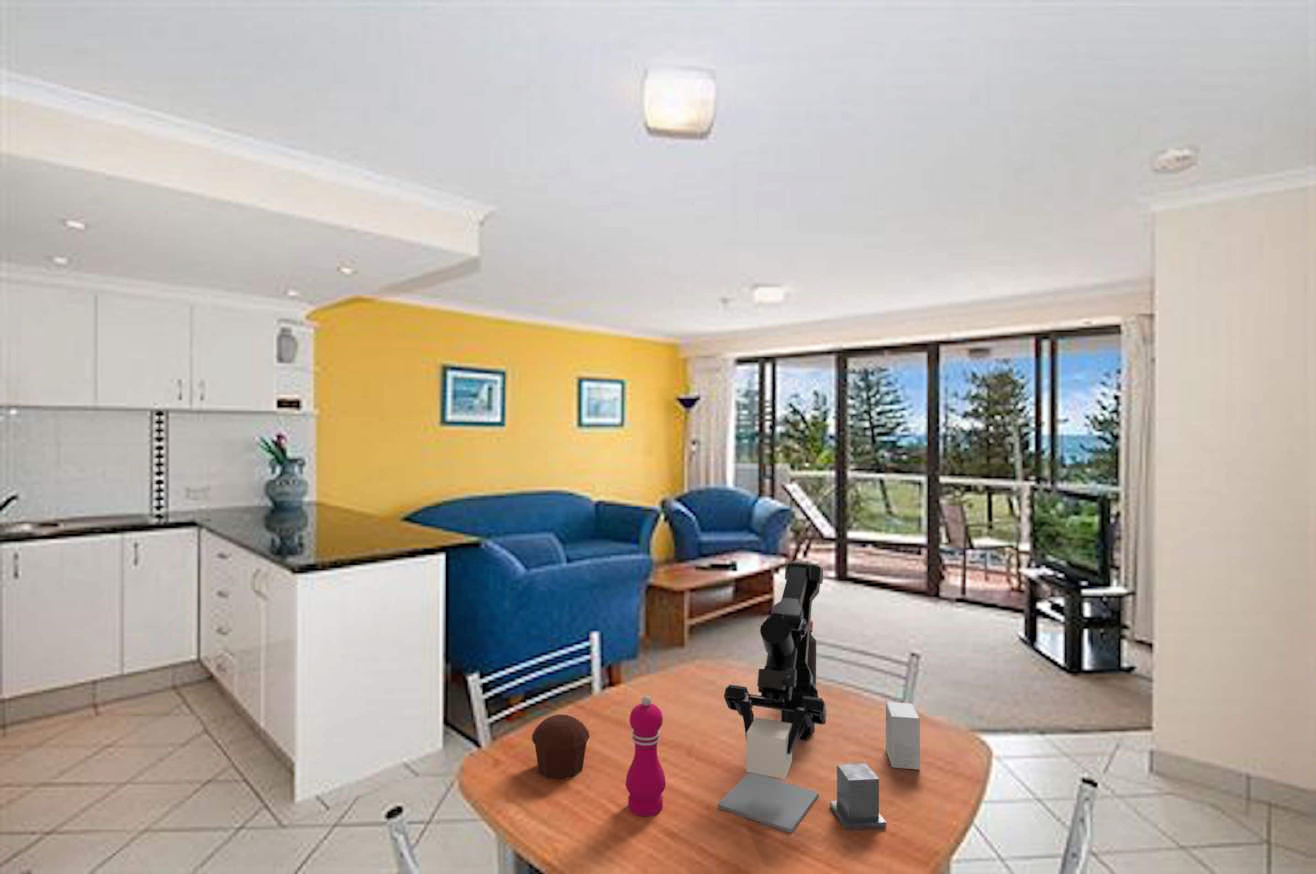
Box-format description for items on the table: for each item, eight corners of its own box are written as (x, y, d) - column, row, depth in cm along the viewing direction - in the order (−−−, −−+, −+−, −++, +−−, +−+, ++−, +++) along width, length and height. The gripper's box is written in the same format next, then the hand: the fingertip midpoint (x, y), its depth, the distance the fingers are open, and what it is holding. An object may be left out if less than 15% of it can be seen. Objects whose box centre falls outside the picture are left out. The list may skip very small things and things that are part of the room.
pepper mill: (624, 796, 121) (625, 688, 121) (663, 795, 121) (664, 688, 121) (626, 819, 113) (627, 704, 114) (667, 817, 114) (668, 703, 114)
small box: (920, 771, 131) (920, 718, 131) (890, 768, 132) (891, 716, 132) (912, 752, 139) (913, 703, 139) (885, 749, 140) (885, 700, 140)
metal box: (830, 806, 118) (830, 762, 118) (868, 804, 119) (868, 760, 119) (845, 830, 111) (846, 783, 111) (886, 828, 111) (886, 781, 112)
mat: (717, 807, 117) (717, 804, 117) (750, 774, 129) (750, 771, 129) (791, 833, 110) (791, 829, 110) (818, 795, 122) (818, 792, 122)
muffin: (600, 763, 133) (600, 714, 133) (568, 788, 123) (568, 736, 123) (553, 750, 139) (554, 703, 139) (519, 773, 129) (519, 722, 129)
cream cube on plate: (755, 754, 124) (755, 717, 124) (791, 760, 122) (792, 723, 122) (746, 771, 118) (746, 732, 118) (785, 779, 115) (785, 739, 115)
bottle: (795, 703, 164) (796, 624, 164) (785, 693, 171) (785, 617, 171) (820, 701, 165) (821, 623, 165) (809, 691, 172) (809, 616, 172)
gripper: (726, 643, 127) (710, 722, 116) (824, 655, 120) (816, 741, 110) (736, 670, 134) (721, 747, 124) (829, 683, 127) (821, 766, 117)
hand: (768, 749), depth 118 cm, fingers closed on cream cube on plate, 7 cm apart
